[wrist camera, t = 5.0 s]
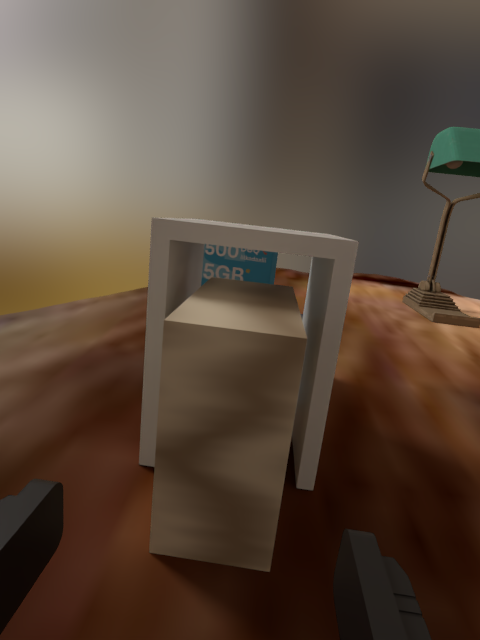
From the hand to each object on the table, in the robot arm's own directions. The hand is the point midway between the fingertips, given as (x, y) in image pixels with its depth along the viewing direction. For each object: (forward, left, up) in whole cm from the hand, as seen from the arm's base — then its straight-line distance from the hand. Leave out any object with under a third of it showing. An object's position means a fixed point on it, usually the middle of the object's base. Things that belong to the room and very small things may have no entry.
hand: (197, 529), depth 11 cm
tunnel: (+11, +12, -6) cm, 18 cm away
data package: (+35, +44, -7) cm, 57 cm away
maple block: (+8, +8, -7) cm, 13 cm away
